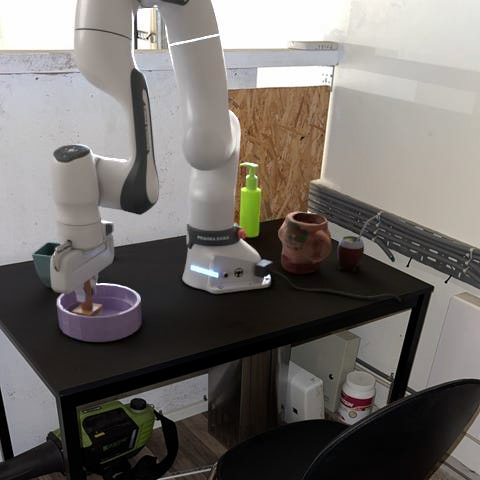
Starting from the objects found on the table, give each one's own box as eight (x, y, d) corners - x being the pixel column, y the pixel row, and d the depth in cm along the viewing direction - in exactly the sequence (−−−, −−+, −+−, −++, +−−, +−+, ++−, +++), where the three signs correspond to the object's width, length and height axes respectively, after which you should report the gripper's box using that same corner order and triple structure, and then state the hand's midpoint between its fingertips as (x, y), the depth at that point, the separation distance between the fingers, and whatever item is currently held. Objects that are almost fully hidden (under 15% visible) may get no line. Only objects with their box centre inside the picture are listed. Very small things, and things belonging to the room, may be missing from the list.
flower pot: (70, 294, 152) (66, 258, 147) (36, 290, 153) (30, 253, 148) (85, 280, 159) (81, 245, 154) (52, 276, 160) (47, 241, 155)
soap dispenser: (243, 228, 197) (246, 160, 186) (262, 233, 194) (266, 164, 182) (232, 233, 193) (235, 163, 182) (251, 238, 190) (255, 168, 178)
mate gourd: (329, 265, 175) (336, 210, 166) (352, 261, 178) (360, 206, 169) (346, 275, 170) (354, 218, 161) (369, 270, 173) (379, 214, 164)
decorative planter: (346, 278, 168) (353, 225, 160) (311, 287, 162) (317, 232, 154) (297, 254, 181) (302, 204, 173) (263, 262, 175) (266, 210, 167)
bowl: (138, 306, 148) (137, 282, 145) (144, 341, 134) (143, 315, 131) (61, 310, 145) (57, 285, 142) (59, 346, 131) (55, 319, 128)
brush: (85, 312, 143) (81, 270, 137) (103, 315, 142) (99, 274, 136) (72, 322, 138) (67, 280, 133) (91, 326, 137) (86, 283, 132)
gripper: (67, 252, 120) (75, 319, 128) (117, 221, 136) (121, 282, 144) (37, 247, 122) (47, 314, 129) (90, 217, 138) (96, 278, 146)
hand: (87, 297), depth 137 cm, fingers closed on brush, 2 cm apart
